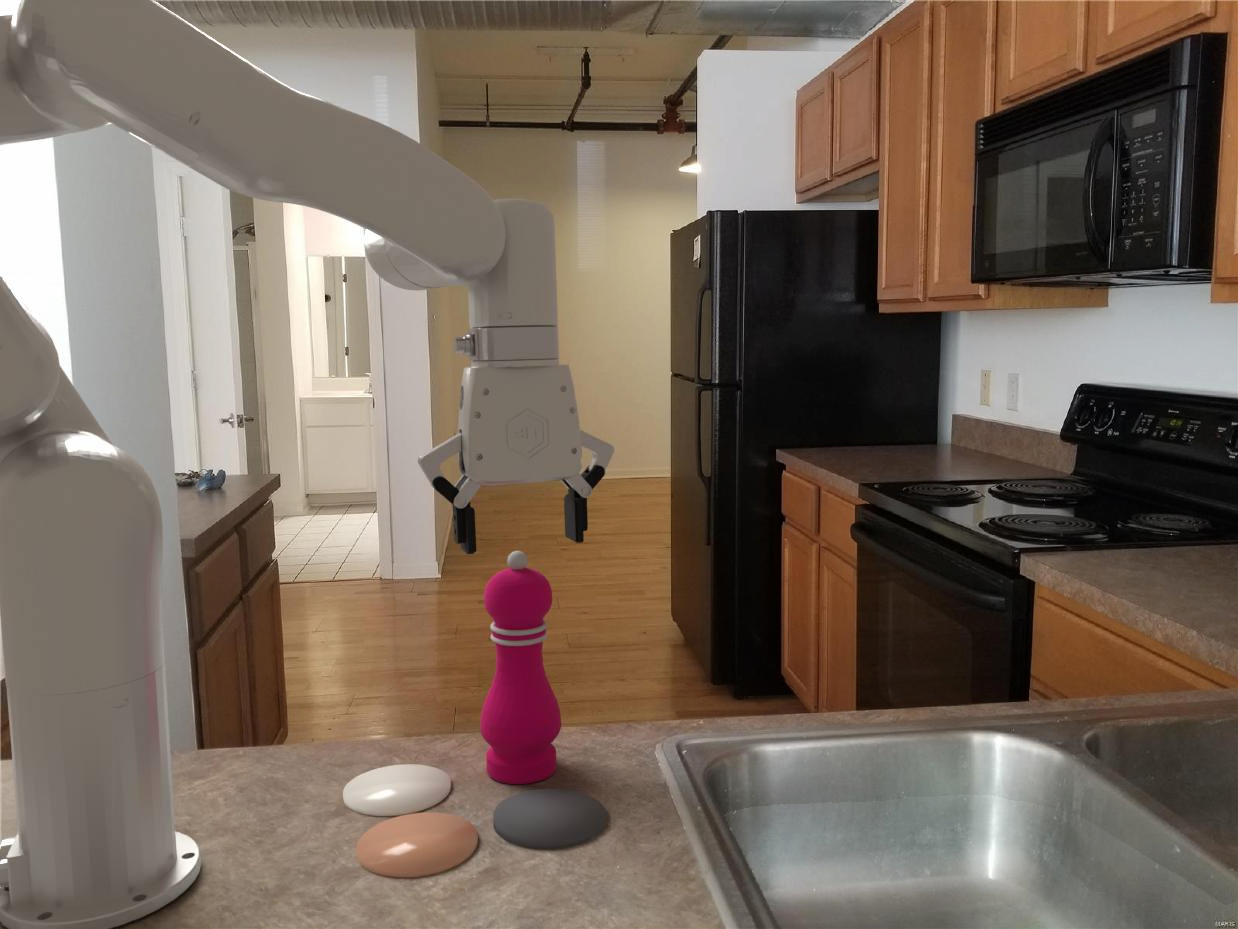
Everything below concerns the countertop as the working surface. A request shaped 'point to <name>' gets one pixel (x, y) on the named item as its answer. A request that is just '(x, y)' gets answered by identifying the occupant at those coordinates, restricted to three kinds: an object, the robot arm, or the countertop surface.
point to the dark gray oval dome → (548, 818)
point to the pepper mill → (519, 678)
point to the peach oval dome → (416, 844)
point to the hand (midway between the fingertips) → (522, 545)
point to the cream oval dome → (396, 790)
